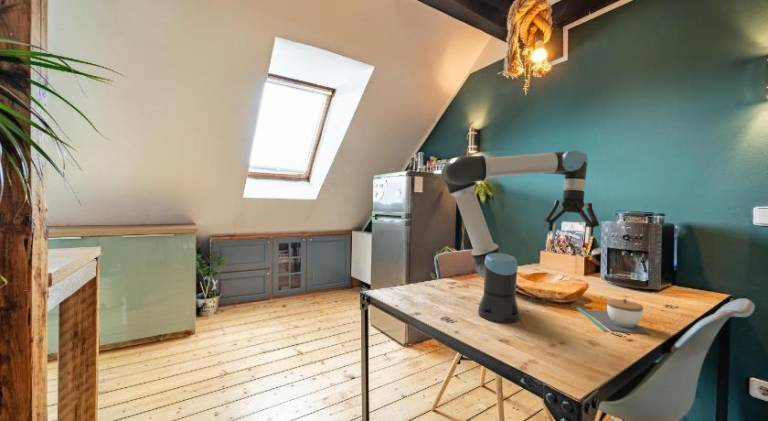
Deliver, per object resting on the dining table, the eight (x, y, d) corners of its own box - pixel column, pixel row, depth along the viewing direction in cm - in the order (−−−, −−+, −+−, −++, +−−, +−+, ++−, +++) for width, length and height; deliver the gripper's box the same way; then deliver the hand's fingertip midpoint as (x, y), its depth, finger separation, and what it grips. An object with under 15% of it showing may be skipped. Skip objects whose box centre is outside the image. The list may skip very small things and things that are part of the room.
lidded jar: (637, 322, 122) (639, 297, 121) (645, 332, 112) (647, 305, 112) (603, 316, 126) (604, 293, 126) (608, 326, 117) (610, 300, 116)
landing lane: (603, 331, 113) (604, 330, 113) (576, 308, 137) (576, 307, 137) (651, 335, 110) (651, 334, 110) (615, 311, 134) (615, 311, 134)
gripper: (602, 193, 136) (597, 243, 136) (539, 188, 141) (534, 237, 140) (611, 191, 129) (607, 245, 129) (544, 186, 133) (540, 238, 133)
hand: (569, 241), depth 134 cm, fingers open, 13 cm apart
